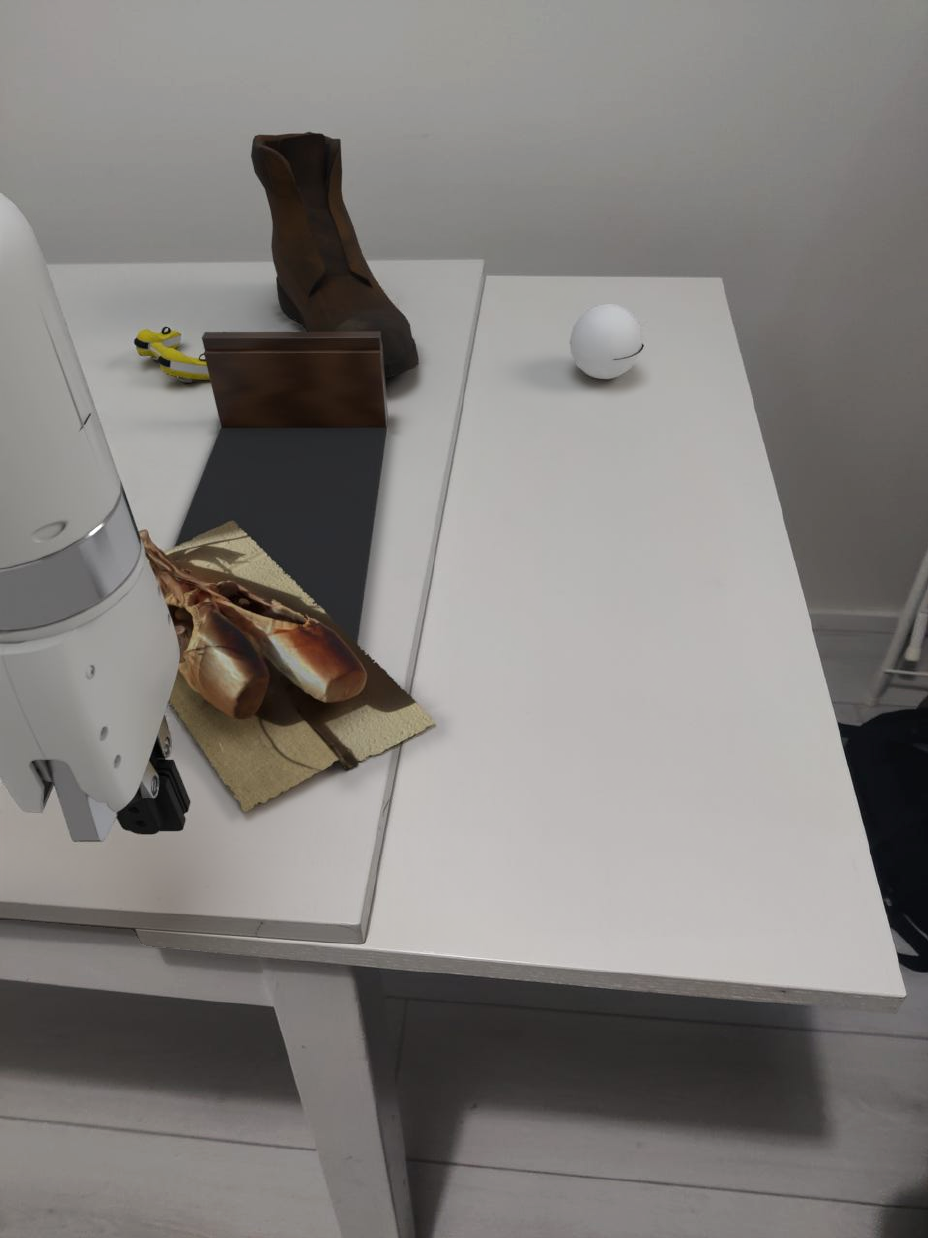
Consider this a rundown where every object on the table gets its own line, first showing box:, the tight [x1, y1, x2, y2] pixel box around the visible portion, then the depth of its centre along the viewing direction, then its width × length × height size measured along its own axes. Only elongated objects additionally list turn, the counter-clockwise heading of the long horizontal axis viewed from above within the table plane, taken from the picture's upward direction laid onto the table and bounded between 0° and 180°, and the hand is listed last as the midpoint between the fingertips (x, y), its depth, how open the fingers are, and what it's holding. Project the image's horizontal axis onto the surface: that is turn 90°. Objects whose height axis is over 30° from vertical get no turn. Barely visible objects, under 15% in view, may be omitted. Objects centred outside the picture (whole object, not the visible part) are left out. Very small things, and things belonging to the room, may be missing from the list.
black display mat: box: [174, 427, 387, 644], centre depth 74 cm, size 16×30×1 cm, turn 179°
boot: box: [250, 131, 420, 379], centre depth 91 cm, size 11×30×20 cm, turn 27°
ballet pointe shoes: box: [138, 521, 437, 813], centre depth 60 cm, size 14×7×28 cm
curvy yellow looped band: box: [133, 326, 210, 384], centre depth 92 cm, size 10×6×4 cm, turn 42°
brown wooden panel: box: [201, 331, 389, 429], centre depth 82 cm, size 16×2×9 cm, turn 89°
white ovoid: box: [569, 303, 647, 380], centre depth 89 cm, size 10×7×7 cm
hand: (157, 817), depth 46 cm, fingers closed
